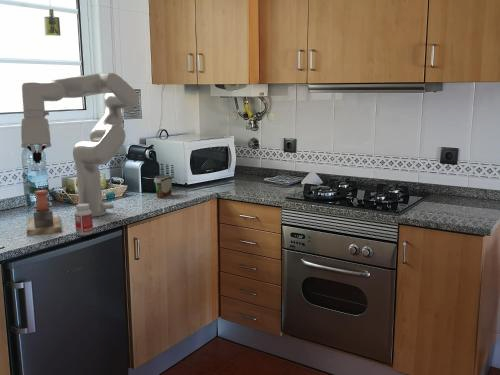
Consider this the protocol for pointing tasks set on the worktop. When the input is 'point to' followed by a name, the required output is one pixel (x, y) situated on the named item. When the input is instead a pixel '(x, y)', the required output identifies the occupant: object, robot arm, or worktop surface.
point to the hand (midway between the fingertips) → (37, 162)
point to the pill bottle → (83, 220)
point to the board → (43, 222)
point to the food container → (163, 186)
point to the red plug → (42, 200)
